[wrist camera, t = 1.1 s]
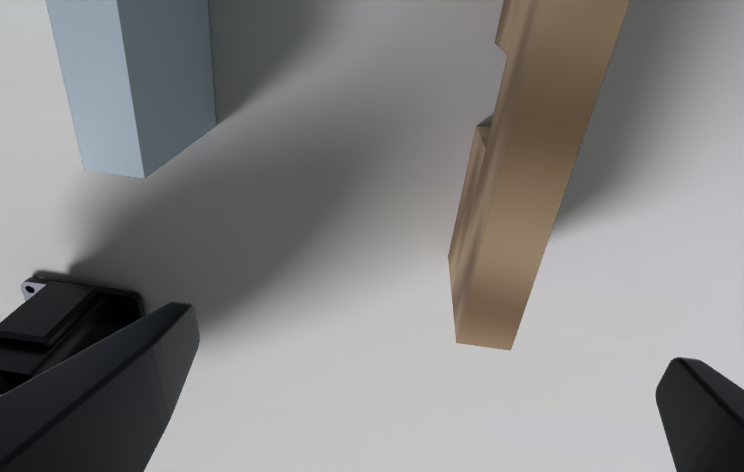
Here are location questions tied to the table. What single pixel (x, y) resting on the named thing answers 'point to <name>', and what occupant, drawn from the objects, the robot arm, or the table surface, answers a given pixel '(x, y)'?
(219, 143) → the table surface
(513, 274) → the notched wooden block
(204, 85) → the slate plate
